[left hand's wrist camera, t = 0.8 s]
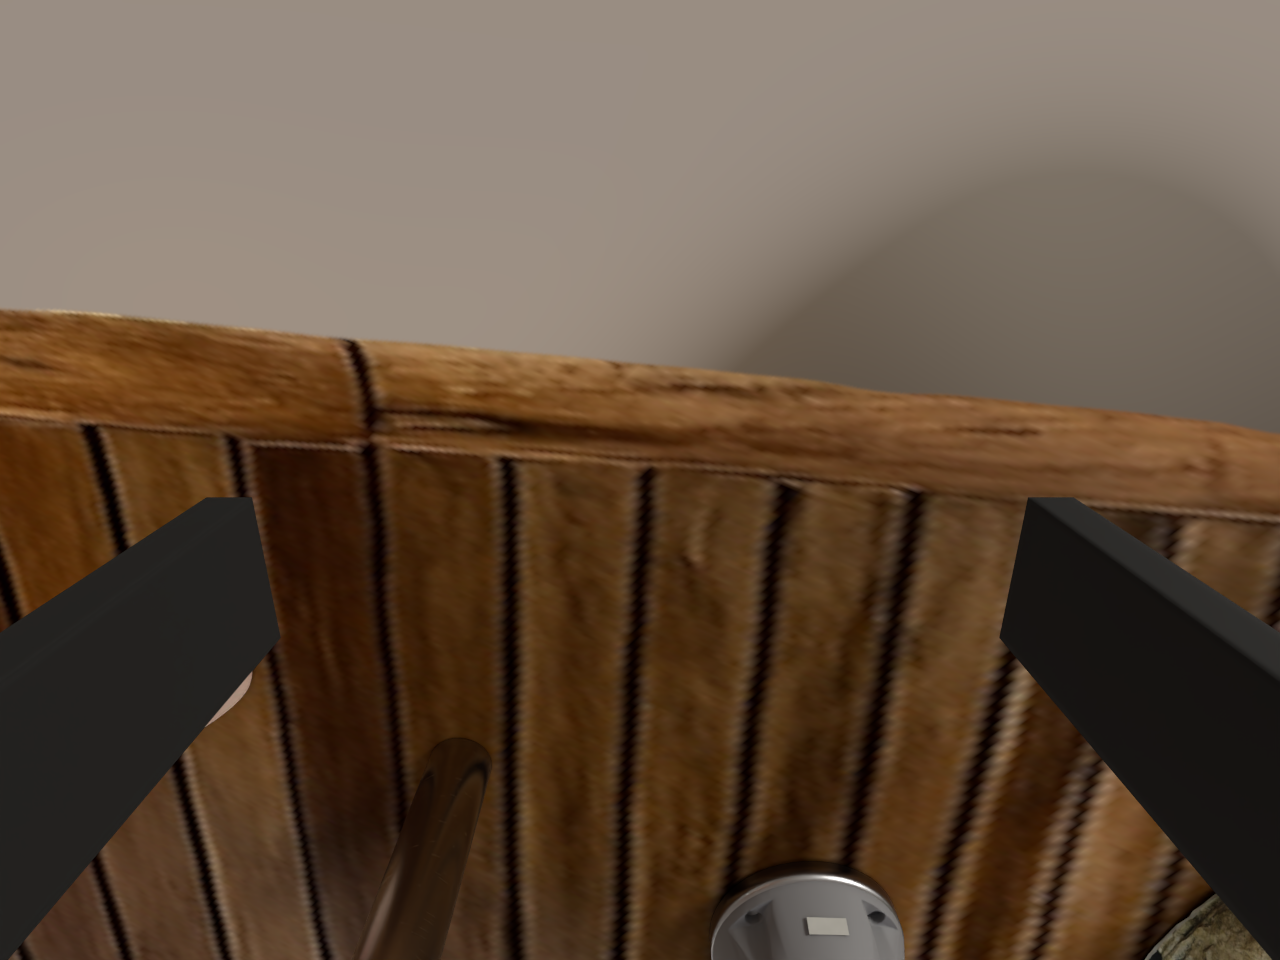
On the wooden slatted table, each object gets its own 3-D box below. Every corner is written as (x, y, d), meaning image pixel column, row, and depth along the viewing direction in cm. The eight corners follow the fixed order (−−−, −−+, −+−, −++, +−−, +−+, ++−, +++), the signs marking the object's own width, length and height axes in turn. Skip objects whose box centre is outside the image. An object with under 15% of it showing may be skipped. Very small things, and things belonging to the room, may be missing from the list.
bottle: (440, 791, 54) (308, 1175, 32) (421, 743, 52) (269, 1114, 31) (499, 781, 53) (404, 1163, 32) (481, 733, 52) (370, 1099, 30)
